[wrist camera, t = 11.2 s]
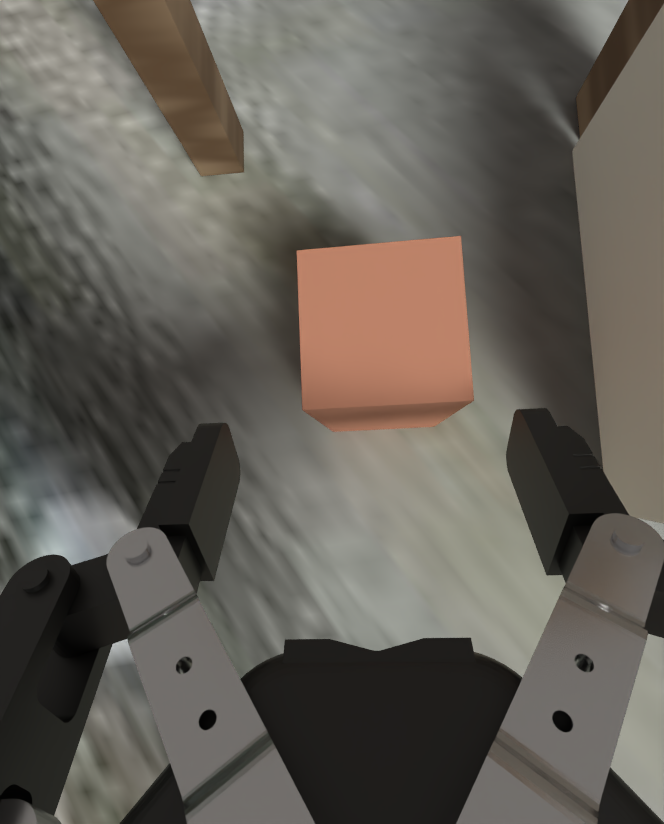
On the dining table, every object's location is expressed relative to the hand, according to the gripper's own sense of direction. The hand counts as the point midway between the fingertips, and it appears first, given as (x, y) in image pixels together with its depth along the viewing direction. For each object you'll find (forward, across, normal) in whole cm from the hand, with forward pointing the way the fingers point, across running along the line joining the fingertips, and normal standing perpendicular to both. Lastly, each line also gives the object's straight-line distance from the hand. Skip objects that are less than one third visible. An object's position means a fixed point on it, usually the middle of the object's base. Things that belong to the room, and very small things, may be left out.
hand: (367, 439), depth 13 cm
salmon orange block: (+9, -1, +4) cm, 10 cm away
